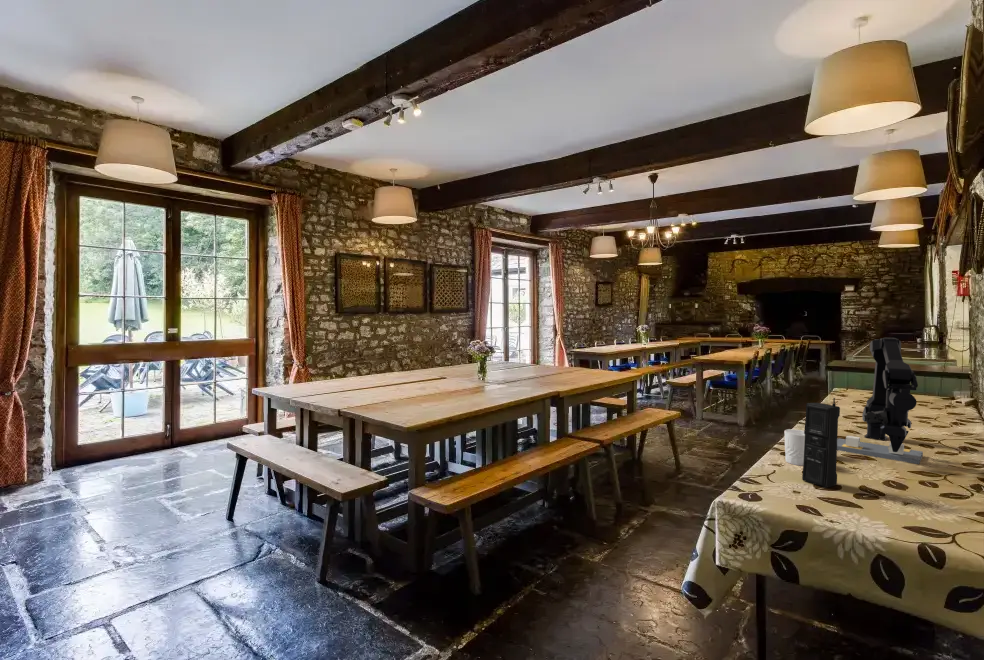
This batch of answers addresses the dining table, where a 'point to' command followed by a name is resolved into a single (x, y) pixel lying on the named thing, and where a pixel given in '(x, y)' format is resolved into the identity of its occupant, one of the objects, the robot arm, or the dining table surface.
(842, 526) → the dining table surface
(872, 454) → the switch panel
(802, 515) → the dining table surface
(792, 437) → the white cup
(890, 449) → the slider
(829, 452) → the portable radio
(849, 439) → the slider
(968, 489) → the dining table surface
